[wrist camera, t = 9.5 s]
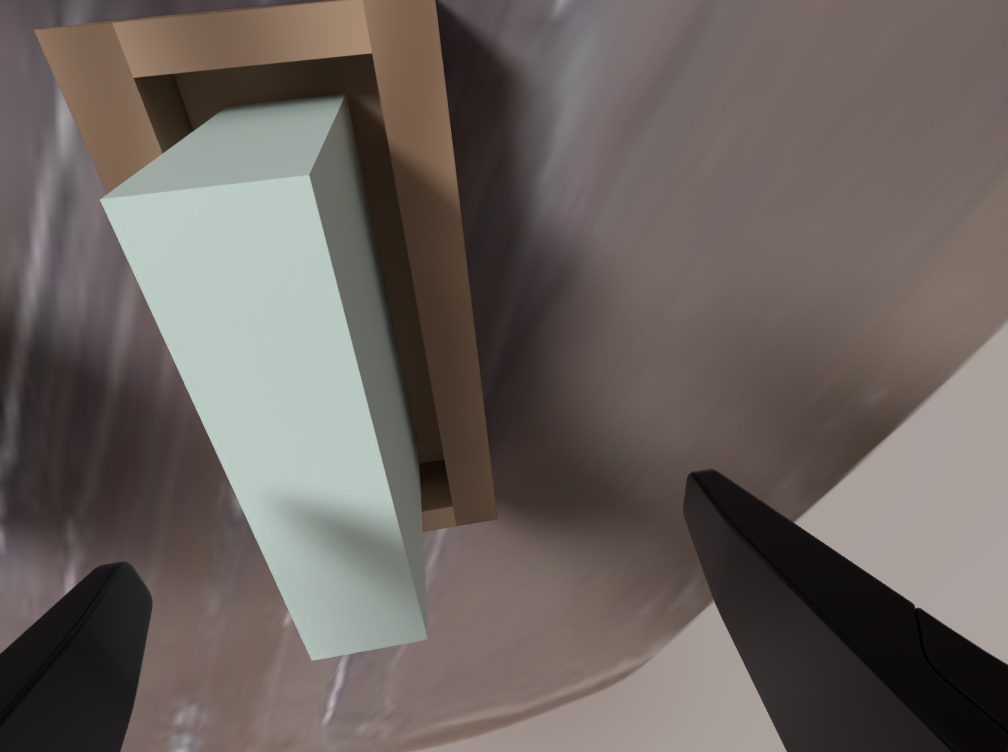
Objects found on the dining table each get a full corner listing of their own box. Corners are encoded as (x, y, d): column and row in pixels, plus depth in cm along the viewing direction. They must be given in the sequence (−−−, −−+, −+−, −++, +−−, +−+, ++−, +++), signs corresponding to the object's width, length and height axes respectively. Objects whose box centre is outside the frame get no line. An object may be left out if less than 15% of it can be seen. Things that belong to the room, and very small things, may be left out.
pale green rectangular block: (346, 93, 15) (309, 174, 9) (418, 444, 22) (428, 639, 16) (228, 105, 15) (99, 199, 9) (337, 457, 22) (312, 660, 15)
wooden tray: (427, -10, 15) (434, -8, 12) (485, 455, 24) (497, 519, 21) (104, 21, 15) (33, 30, 12) (286, 487, 24) (271, 557, 21)
